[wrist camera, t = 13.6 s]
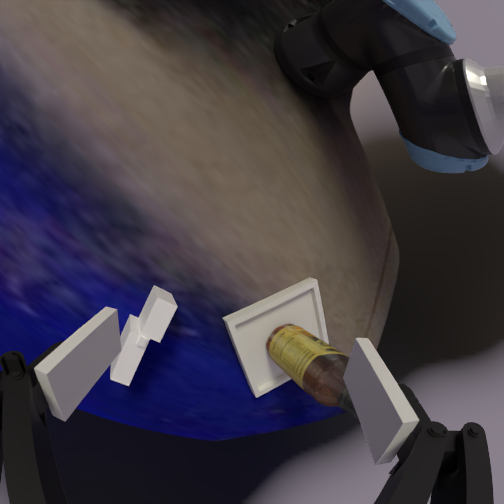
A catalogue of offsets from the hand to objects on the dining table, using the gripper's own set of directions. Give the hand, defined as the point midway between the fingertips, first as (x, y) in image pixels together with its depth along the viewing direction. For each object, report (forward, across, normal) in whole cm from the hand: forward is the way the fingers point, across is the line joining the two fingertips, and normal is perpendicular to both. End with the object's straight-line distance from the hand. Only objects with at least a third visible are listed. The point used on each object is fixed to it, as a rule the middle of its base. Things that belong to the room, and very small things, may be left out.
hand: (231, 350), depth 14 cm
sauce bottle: (+23, +6, -12) cm, 27 cm away
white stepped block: (+16, -12, -9) cm, 22 cm away
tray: (+24, +6, -12) cm, 27 cm away
